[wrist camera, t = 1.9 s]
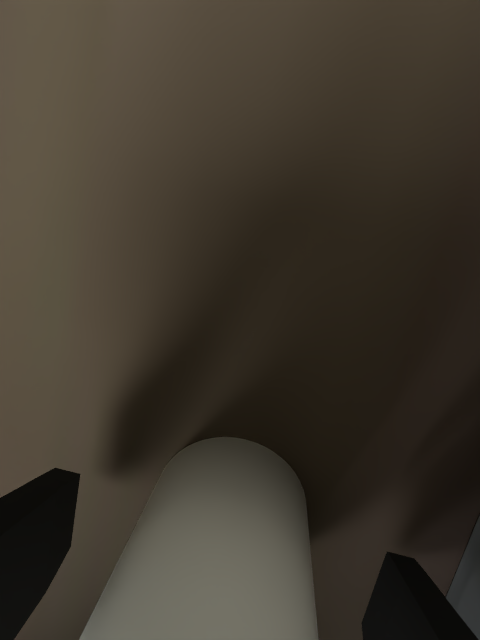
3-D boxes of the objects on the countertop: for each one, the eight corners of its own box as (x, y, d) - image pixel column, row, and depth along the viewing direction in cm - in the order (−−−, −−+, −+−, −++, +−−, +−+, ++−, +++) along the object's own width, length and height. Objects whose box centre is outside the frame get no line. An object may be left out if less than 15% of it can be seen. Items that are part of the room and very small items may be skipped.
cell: (144, 550, 11) (-37, 976, 5) (168, 420, 10) (-17, 735, 4) (286, 586, 11) (293, 1082, 5) (324, 458, 10) (397, 857, 4)
